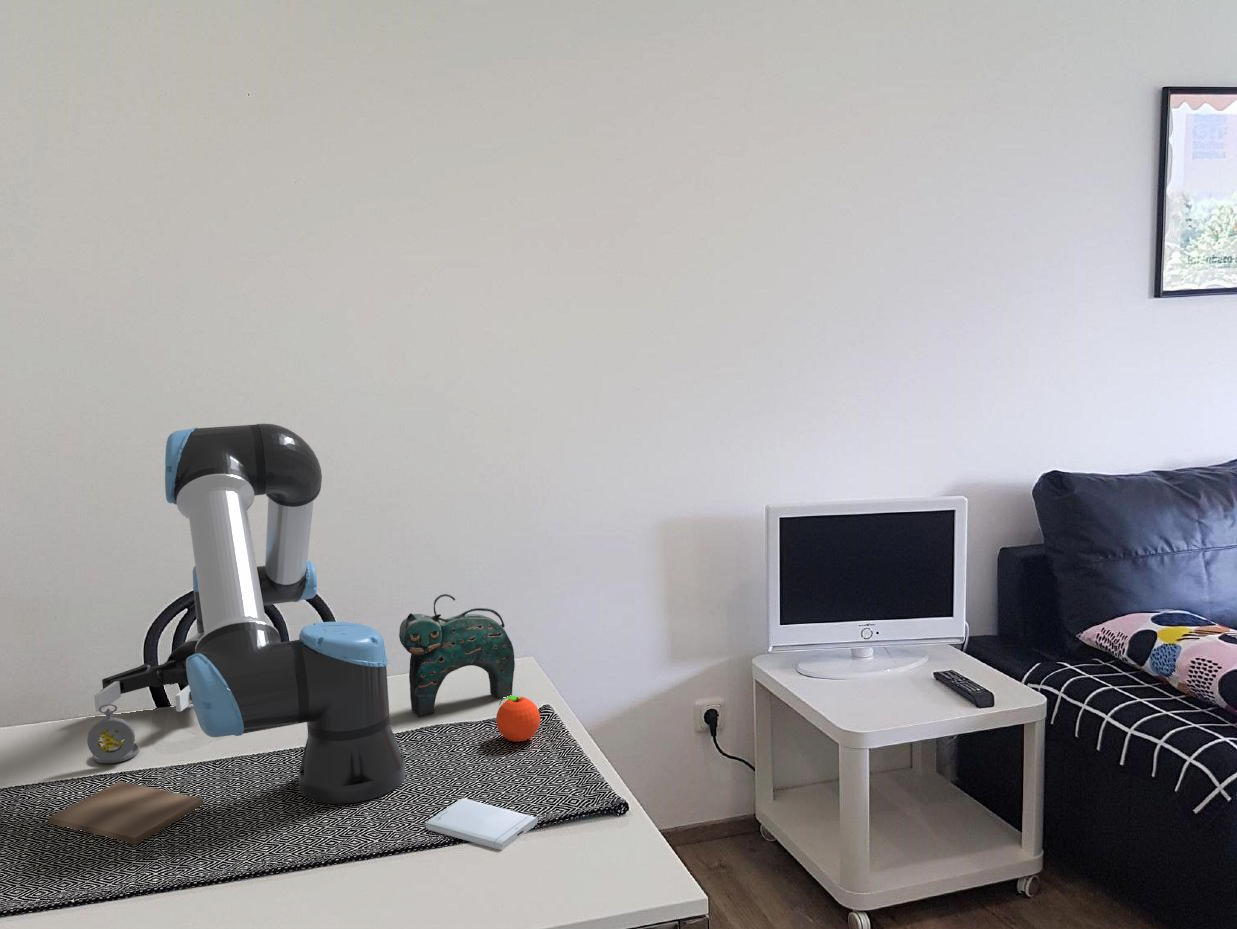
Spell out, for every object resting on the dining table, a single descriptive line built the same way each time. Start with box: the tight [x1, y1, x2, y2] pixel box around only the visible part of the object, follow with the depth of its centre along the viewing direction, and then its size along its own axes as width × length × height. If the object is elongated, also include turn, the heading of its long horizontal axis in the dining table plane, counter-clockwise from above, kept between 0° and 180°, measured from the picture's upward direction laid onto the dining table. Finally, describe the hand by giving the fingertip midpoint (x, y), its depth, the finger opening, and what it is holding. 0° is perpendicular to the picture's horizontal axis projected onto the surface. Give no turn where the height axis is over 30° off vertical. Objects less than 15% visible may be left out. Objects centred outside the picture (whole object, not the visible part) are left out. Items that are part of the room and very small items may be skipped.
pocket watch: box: [86, 703, 141, 764], centre depth 172 cm, size 8×8×10 cm
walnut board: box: [47, 780, 204, 846], centre depth 154 cm, size 16×12×1 cm
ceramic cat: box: [398, 593, 516, 718], centre depth 191 cm, size 20×6×20 cm, turn 119°
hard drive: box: [425, 797, 539, 851], centre depth 148 cm, size 2×8×12 cm
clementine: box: [495, 695, 541, 743], centre depth 176 cm, size 8×7×7 cm
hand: (137, 703), depth 180 cm, fingers open, 13 cm apart
